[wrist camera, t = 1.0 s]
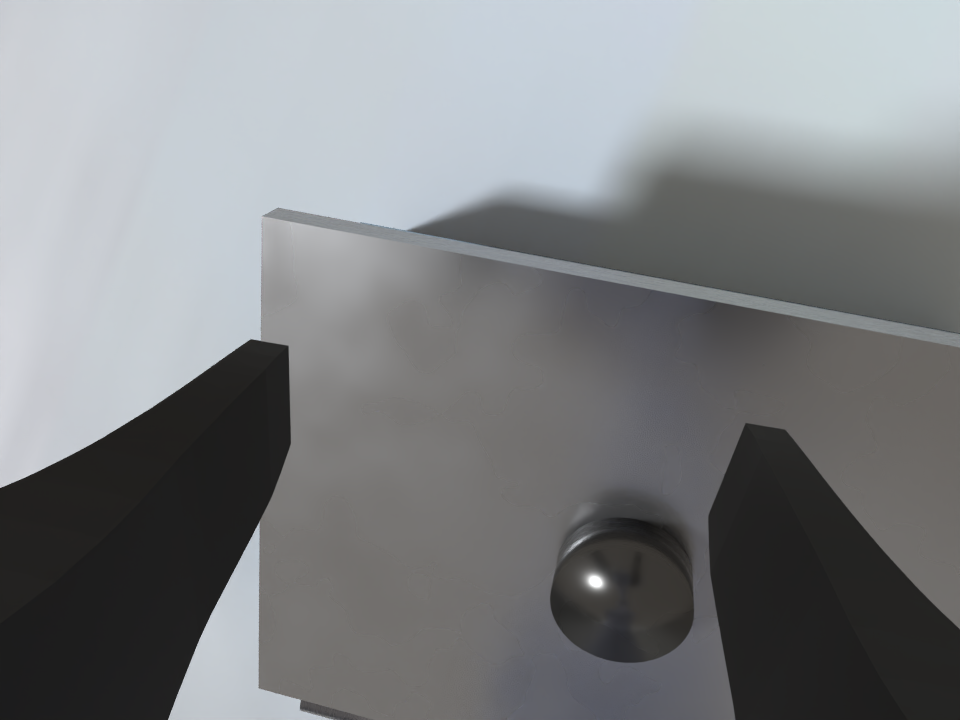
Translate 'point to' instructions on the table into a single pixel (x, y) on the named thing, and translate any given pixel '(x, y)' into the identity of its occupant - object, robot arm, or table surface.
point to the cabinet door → (555, 472)
